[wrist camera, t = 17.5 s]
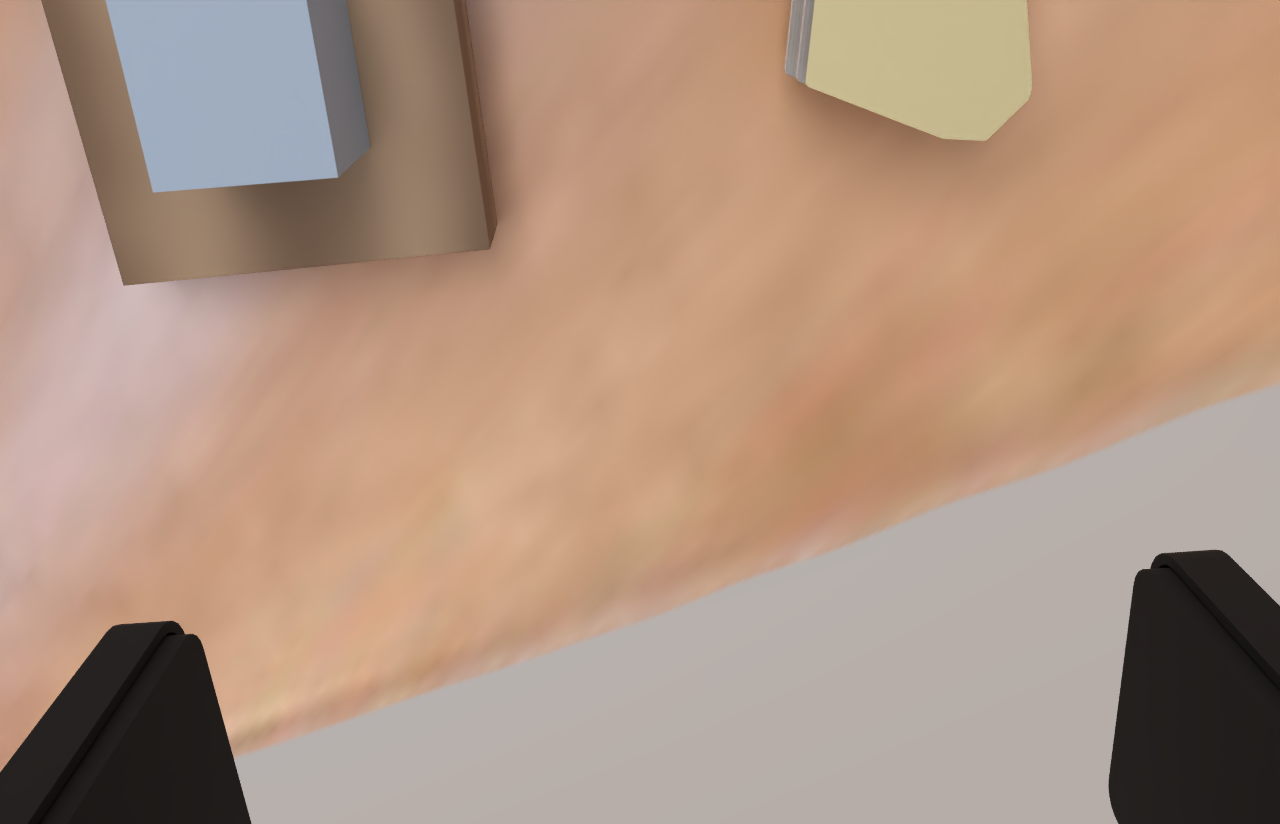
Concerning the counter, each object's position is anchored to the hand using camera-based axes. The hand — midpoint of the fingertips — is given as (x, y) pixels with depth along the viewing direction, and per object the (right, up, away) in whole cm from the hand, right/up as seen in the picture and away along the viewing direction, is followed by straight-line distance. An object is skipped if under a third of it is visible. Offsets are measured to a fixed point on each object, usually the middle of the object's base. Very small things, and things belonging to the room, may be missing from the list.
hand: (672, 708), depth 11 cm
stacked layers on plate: (+8, +16, +26) cm, 32 cm away
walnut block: (-12, +15, +26) cm, 32 cm away
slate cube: (-11, +13, +22) cm, 28 cm away
